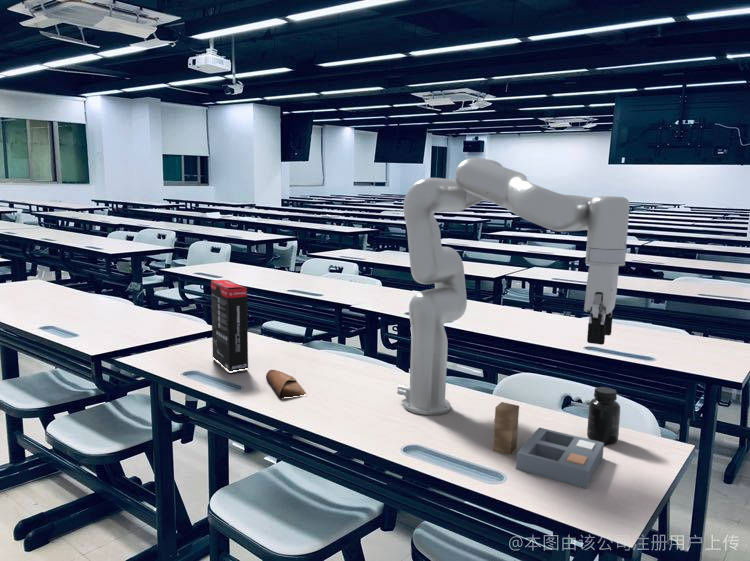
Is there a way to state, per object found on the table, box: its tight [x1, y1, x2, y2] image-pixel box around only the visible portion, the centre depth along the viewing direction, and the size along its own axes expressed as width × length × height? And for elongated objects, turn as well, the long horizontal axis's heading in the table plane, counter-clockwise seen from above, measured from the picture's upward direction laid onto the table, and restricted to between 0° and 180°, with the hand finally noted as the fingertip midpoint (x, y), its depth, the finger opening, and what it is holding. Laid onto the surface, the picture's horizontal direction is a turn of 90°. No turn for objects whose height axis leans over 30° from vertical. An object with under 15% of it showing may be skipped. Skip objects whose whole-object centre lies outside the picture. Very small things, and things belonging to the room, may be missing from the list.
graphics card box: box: [210, 279, 249, 371], centre depth 176 cm, size 17×7×27 cm, turn 34°
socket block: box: [515, 427, 605, 489], centre depth 117 cm, size 14×16×4 cm
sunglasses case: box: [265, 369, 307, 399], centre depth 159 cm, size 18×7×7 cm, turn 23°
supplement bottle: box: [586, 386, 621, 446], centre depth 129 cm, size 7×7×12 cm
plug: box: [492, 401, 520, 456], centre depth 122 cm, size 4×4×10 cm
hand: (599, 338), depth 116 cm, fingers open, 9 cm apart
